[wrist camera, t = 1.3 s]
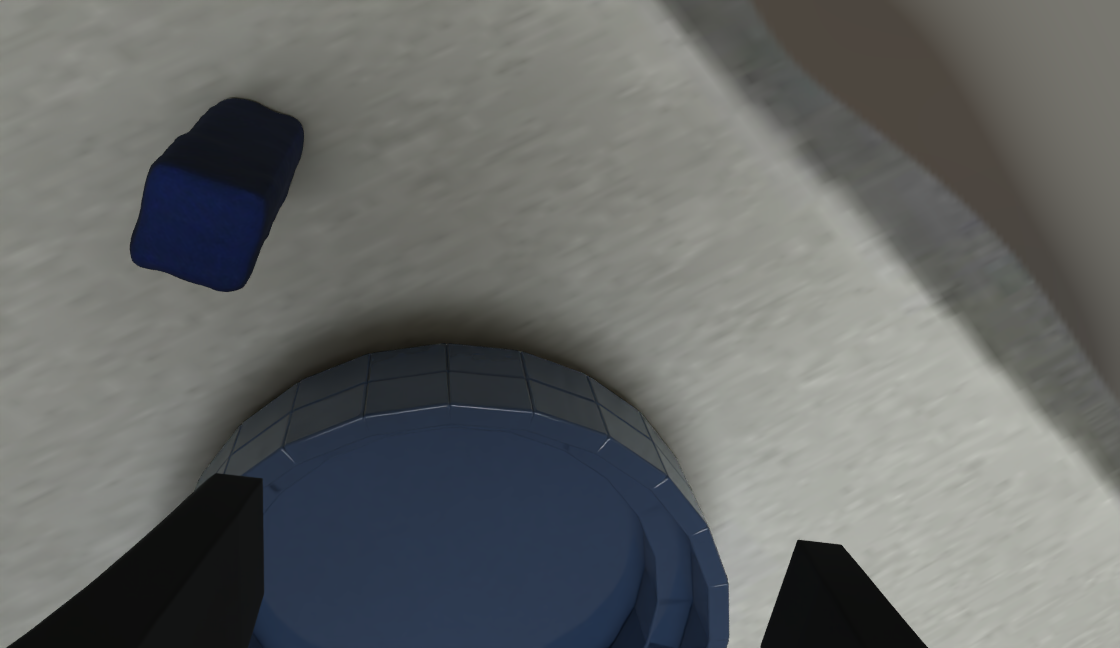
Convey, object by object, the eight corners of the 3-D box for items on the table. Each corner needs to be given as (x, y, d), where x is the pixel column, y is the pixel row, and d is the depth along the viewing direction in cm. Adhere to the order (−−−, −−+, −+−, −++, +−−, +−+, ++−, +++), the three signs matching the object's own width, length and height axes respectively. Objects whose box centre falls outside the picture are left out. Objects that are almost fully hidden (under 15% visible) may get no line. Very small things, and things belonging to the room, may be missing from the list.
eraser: (225, 85, 22) (143, 154, 15) (317, 123, 22) (275, 203, 16) (198, 168, 22) (110, 266, 16) (288, 202, 23) (237, 309, 17)
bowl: (122, 688, 28) (77, 802, 25) (282, 254, 23) (256, 315, 20) (566, 785, 32) (584, 893, 29) (778, 434, 28) (831, 512, 24)
